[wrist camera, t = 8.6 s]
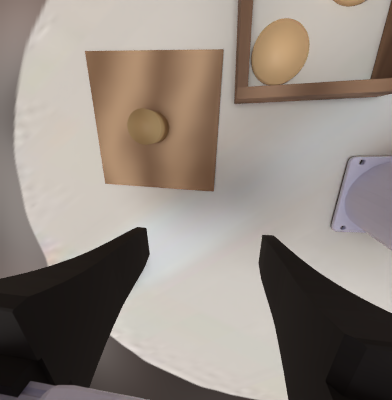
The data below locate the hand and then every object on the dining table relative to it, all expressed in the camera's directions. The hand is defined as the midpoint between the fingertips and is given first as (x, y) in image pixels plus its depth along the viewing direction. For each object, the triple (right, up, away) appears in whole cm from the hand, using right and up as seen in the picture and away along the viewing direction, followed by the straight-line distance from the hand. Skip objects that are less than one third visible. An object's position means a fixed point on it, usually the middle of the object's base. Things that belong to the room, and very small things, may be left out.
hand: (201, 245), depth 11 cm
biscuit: (+7, +15, +5) cm, 17 cm away
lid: (-5, +11, +8) cm, 14 cm away
